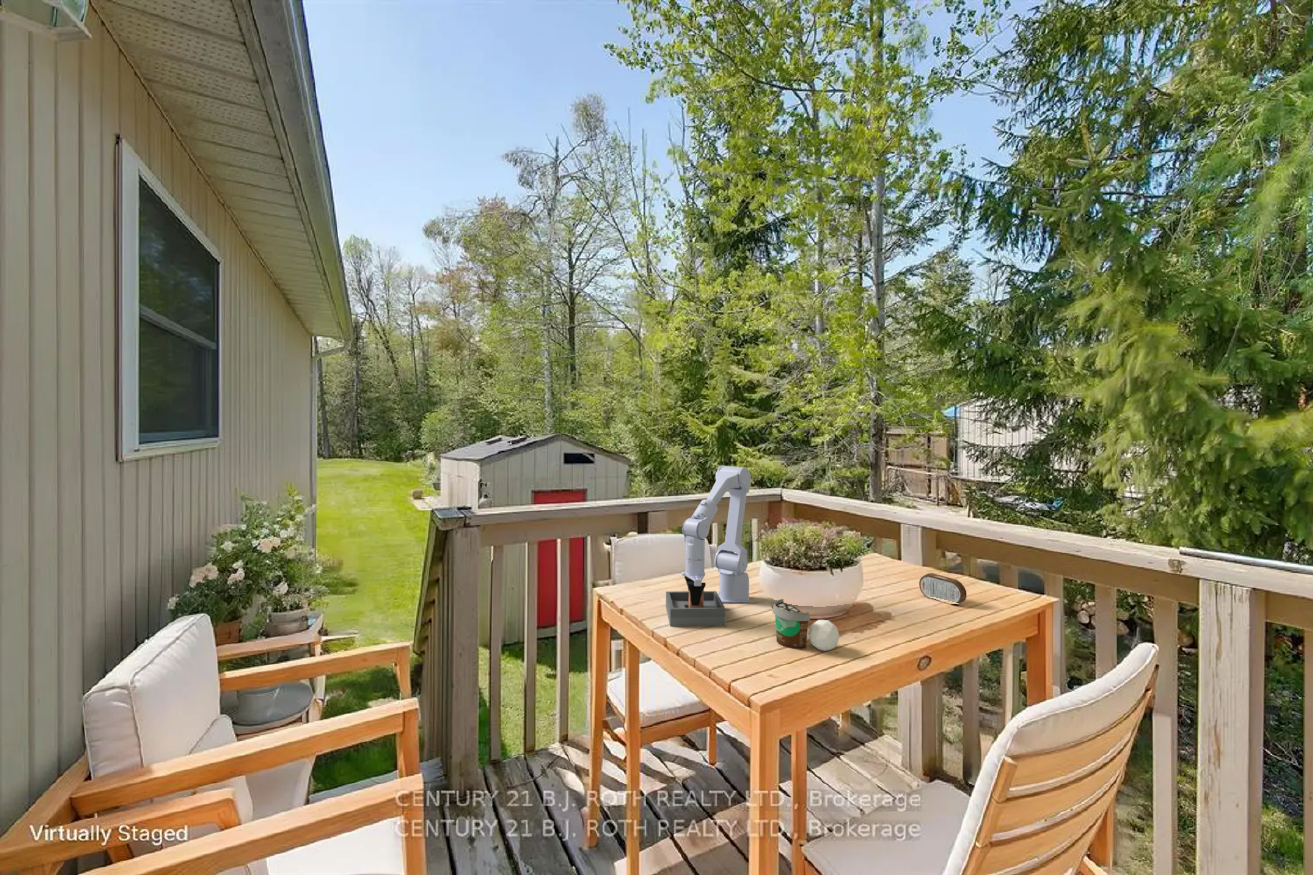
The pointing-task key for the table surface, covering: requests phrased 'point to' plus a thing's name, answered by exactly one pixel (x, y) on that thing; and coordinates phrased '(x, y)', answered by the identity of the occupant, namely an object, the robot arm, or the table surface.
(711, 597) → the hole box
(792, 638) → the food container
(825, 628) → the ball
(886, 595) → the table surface
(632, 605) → the table surface
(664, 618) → the table surface
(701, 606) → the peg
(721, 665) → the table surface
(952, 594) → the tin
